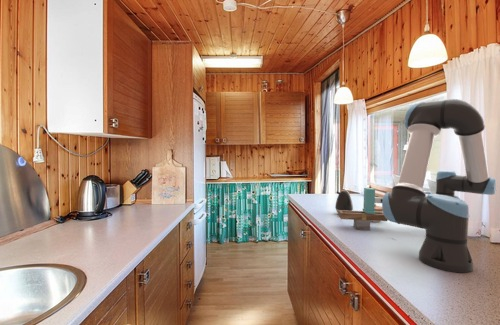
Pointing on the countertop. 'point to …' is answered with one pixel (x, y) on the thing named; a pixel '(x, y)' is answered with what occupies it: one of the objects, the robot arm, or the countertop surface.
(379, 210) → the lidded jar
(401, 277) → the countertop surface
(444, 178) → the robot arm
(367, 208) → the block
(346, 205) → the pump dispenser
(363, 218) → the beam
